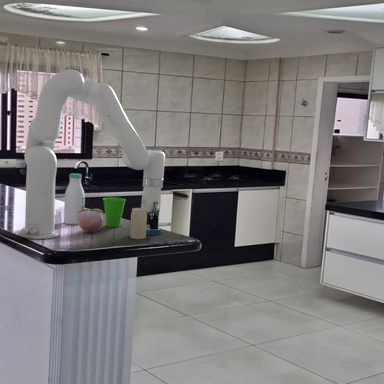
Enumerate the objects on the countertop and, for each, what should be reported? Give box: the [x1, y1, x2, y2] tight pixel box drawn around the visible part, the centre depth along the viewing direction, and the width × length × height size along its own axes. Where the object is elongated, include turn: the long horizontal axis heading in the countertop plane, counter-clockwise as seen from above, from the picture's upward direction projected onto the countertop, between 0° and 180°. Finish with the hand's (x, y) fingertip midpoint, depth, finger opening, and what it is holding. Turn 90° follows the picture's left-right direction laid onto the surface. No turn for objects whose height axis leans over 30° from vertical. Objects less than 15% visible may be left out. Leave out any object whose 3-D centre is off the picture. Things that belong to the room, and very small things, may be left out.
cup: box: [102, 197, 127, 228], centre depth 227 cm, size 9×9×11 cm
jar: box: [129, 207, 148, 240], centre depth 208 cm, size 6×6×11 cm
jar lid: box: [146, 226, 162, 236], centre depth 218 cm, size 7×7×2 cm
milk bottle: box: [63, 173, 86, 225], centre depth 227 cm, size 8×8×20 cm
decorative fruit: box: [77, 205, 105, 234], centre depth 211 cm, size 9×8×10 cm
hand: (149, 227), depth 218 cm, fingers open, 9 cm apart
